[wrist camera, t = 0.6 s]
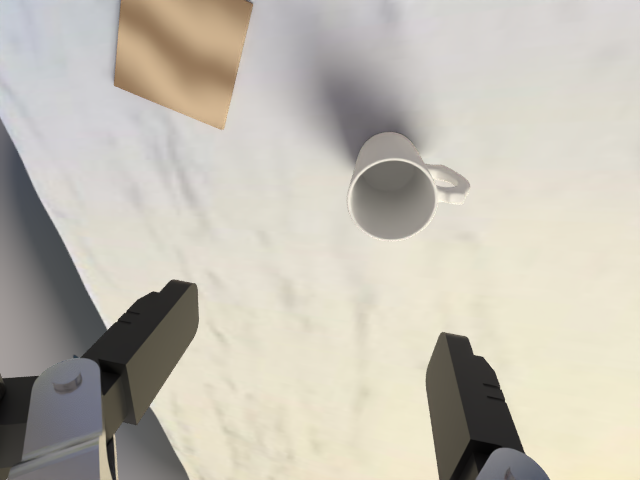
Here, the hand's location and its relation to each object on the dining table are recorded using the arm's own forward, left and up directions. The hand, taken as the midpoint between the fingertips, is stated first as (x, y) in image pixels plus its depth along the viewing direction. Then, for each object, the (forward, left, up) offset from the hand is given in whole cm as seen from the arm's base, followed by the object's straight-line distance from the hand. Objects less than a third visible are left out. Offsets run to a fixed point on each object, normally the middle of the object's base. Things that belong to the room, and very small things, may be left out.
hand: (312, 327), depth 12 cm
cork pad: (-2, -20, -29) cm, 35 cm away
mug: (0, +5, -29) cm, 30 cm away
